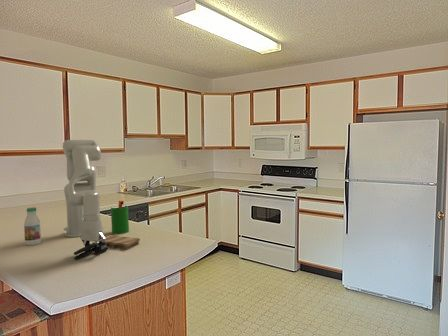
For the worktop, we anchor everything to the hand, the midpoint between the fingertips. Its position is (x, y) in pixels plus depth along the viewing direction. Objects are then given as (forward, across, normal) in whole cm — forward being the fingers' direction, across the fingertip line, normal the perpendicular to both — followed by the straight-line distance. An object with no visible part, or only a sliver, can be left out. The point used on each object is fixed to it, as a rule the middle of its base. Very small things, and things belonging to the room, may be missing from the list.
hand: (93, 252), depth 162 cm
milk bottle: (+1, -45, +3) cm, 45 cm away
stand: (+1, +2, +17) cm, 17 cm away
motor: (+1, -14, +39) cm, 42 cm away
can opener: (+1, -1, -1) cm, 2 cm away
